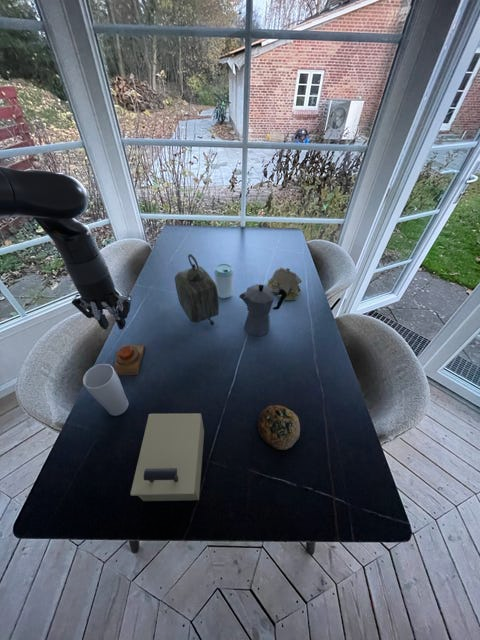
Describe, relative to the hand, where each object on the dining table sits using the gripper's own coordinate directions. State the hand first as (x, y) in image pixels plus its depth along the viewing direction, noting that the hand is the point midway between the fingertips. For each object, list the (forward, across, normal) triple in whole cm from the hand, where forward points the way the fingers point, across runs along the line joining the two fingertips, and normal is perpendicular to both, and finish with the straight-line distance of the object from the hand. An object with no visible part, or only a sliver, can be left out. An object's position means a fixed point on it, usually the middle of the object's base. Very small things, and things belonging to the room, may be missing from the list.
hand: (114, 326), depth 70 cm
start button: (+12, 0, 0) cm, 12 cm away
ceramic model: (+15, +52, +35) cm, 65 cm away
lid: (+6, +18, -29) cm, 35 cm away
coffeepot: (+15, +41, +15) cm, 46 cm away
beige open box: (+15, +18, -29) cm, 37 cm away
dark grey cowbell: (+15, +19, +19) cm, 31 cm away
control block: (+15, 0, 0) cm, 15 cm away
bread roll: (+15, +43, -21) cm, 50 cm away
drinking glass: (+15, +1, -15) cm, 21 cm away
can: (+15, +28, +32) cm, 45 cm away
